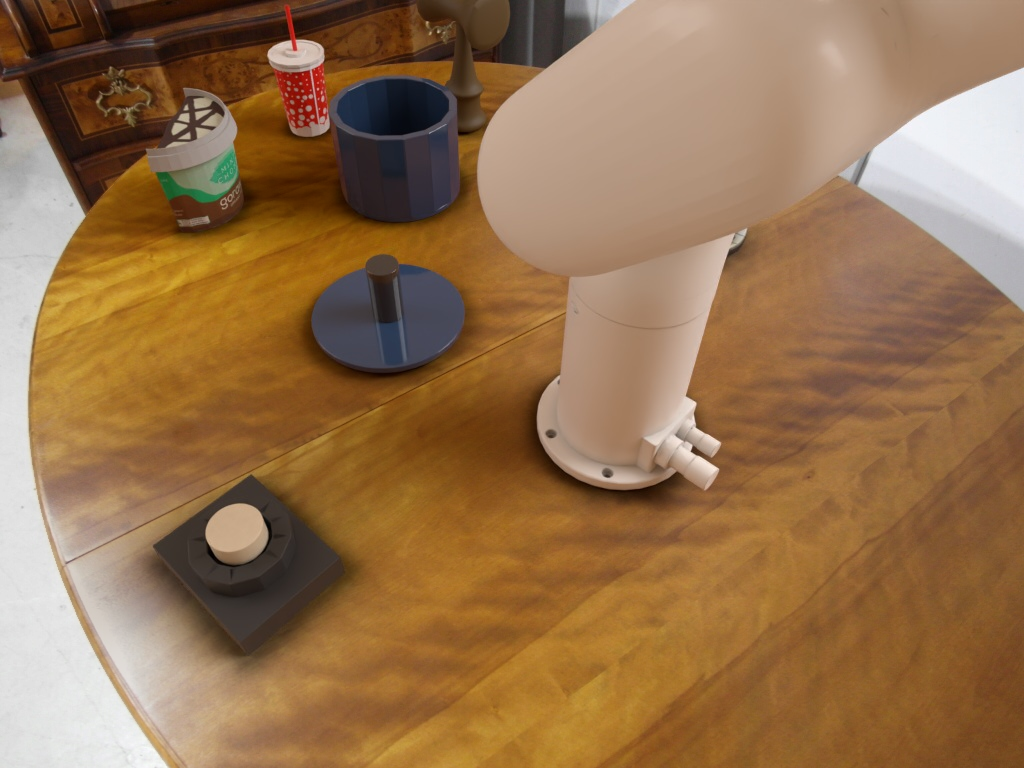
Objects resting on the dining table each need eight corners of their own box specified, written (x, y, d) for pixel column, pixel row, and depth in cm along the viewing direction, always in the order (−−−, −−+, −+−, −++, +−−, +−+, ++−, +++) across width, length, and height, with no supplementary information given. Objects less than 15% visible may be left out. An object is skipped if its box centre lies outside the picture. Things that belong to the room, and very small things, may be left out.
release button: (280, 539, 51) (274, 525, 50) (233, 576, 49) (226, 562, 48) (247, 507, 53) (241, 493, 51) (201, 542, 51) (193, 528, 50)
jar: (483, 185, 84) (482, 104, 77) (398, 238, 78) (388, 155, 71) (404, 142, 90) (397, 63, 83) (319, 188, 84) (302, 106, 76)
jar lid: (496, 319, 71) (496, 262, 66) (384, 403, 64) (374, 346, 59) (394, 254, 76) (387, 197, 71) (282, 324, 70) (265, 267, 65)
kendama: (473, 150, 89) (469, -36, 74) (420, 117, 94) (406, -64, 79) (511, 131, 92) (514, -51, 77) (457, 100, 96) (451, -77, 81)
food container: (239, 243, 77) (211, 154, 70) (177, 241, 77) (143, 152, 70) (267, 173, 85) (246, 86, 78) (211, 171, 85) (184, 85, 78)
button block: (345, 572, 54) (336, 543, 51) (248, 656, 49) (232, 630, 46) (258, 490, 58) (245, 459, 55) (162, 561, 54) (142, 531, 51)
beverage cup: (319, 108, 95) (298, -12, 84) (346, 128, 92) (327, 7, 81) (274, 124, 92) (246, 2, 82) (300, 146, 89) (274, 22, 79)
